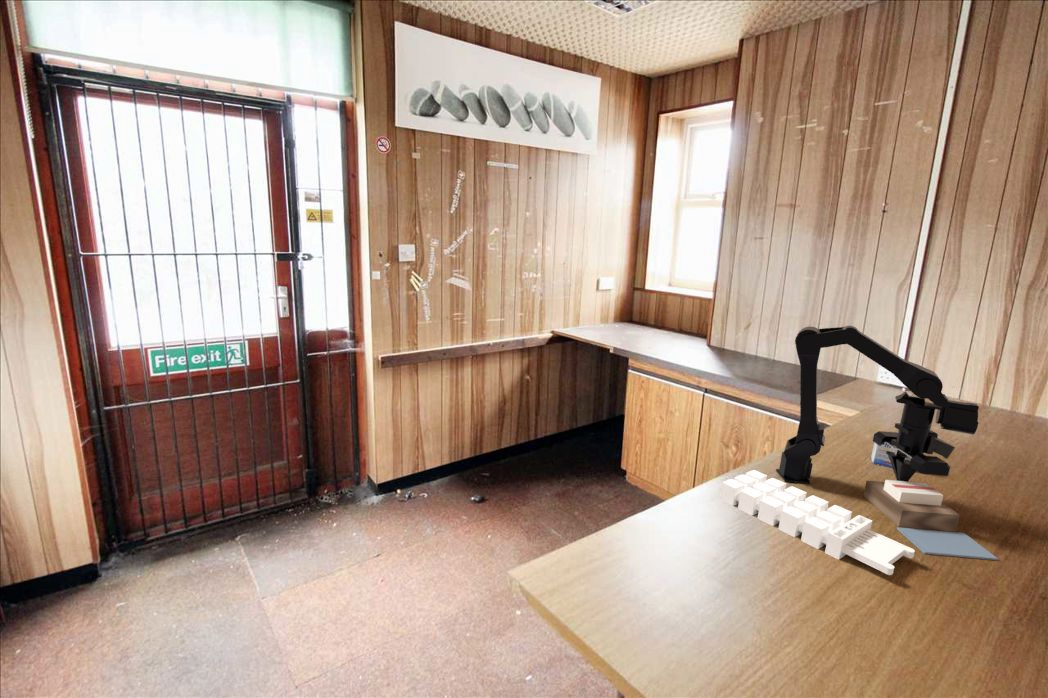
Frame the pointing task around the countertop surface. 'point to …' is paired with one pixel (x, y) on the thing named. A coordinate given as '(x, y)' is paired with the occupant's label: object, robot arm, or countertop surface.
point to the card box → (913, 492)
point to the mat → (946, 543)
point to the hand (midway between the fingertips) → (901, 485)
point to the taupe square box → (911, 510)
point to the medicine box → (881, 454)
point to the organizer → (813, 520)
